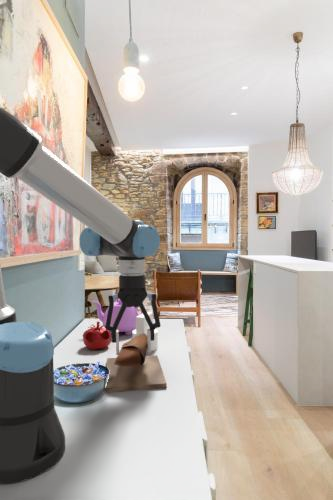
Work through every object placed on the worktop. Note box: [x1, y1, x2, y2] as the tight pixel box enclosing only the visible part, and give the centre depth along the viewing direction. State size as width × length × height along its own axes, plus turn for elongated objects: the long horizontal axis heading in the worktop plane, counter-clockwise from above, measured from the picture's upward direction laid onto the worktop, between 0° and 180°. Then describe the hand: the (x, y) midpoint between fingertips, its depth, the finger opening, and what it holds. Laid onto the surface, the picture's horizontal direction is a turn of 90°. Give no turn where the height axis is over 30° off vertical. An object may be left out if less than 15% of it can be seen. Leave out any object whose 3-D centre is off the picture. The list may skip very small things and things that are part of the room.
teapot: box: [92, 298, 142, 336], centre depth 147 cm, size 22×16×14 cm
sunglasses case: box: [114, 334, 148, 366], centre depth 102 cm, size 18×7×7 cm, turn 0°
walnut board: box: [104, 354, 168, 393], centre depth 102 cm, size 16×22×1 cm
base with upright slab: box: [131, 311, 159, 353], centre depth 126 cm, size 9×9×12 cm
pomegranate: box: [82, 321, 112, 351], centre depth 127 cm, size 10×10×9 cm
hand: (133, 352), depth 102 cm, fingers closed on sunglasses case, 8 cm apart
